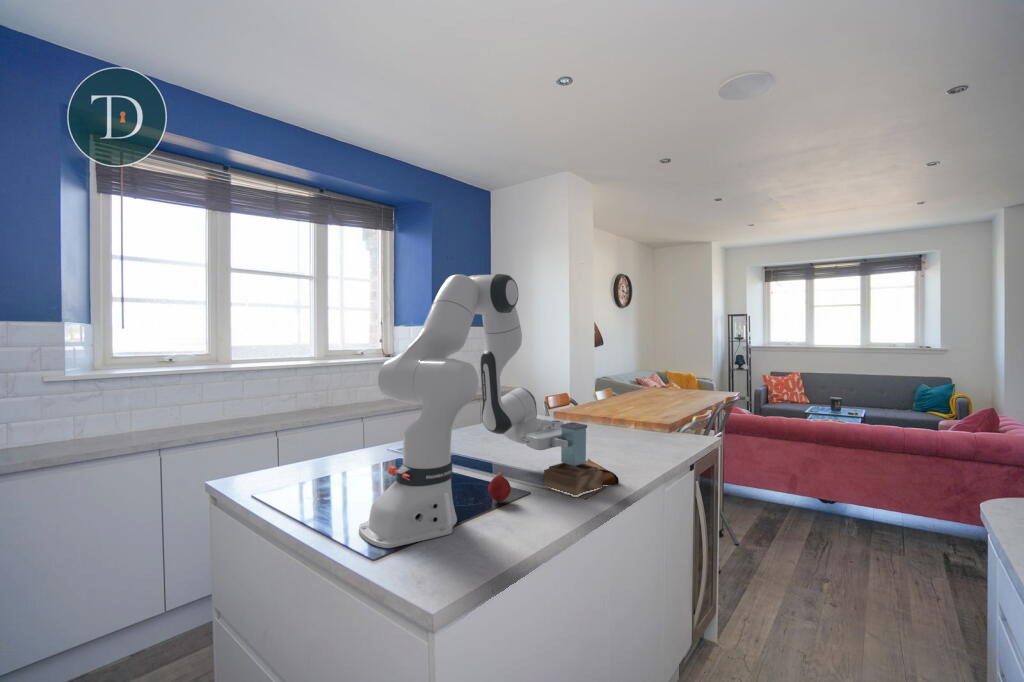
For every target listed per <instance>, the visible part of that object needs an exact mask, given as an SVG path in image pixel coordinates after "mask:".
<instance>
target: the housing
mask: <svg viewBox="0 0 1024 682" xmlns="http://www.w3.org/2000/svg"><path fill="white" fill-rule="evenodd" d="M561 428H562V438H561V440H569V441H570V447H560V449H561V451H560V452H561V455H560V456H561V457H560V460H561V461H560V462H561V463H566V464H569V465H573V466H576V465H580V464H583V463H586V461H587V460H586V459H587V428H588V425H587V424H584V423H578V422H574V421H571V422H567V423H563V424H561Z"/></svg>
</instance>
